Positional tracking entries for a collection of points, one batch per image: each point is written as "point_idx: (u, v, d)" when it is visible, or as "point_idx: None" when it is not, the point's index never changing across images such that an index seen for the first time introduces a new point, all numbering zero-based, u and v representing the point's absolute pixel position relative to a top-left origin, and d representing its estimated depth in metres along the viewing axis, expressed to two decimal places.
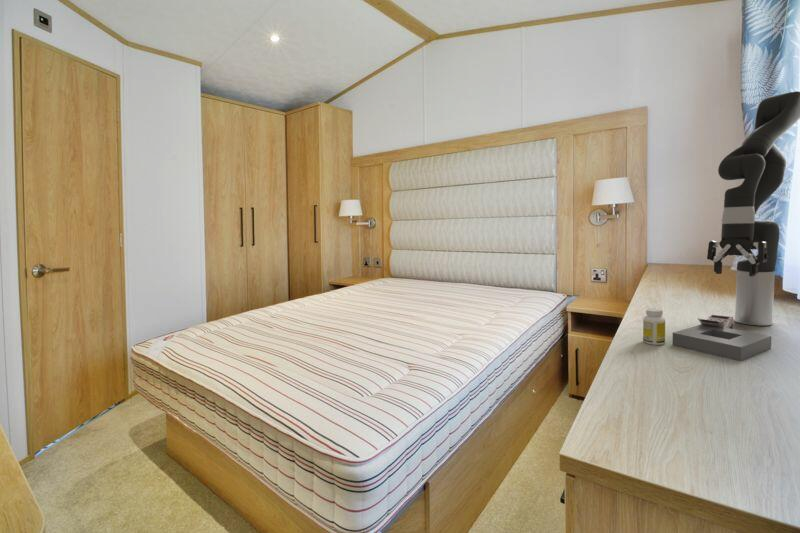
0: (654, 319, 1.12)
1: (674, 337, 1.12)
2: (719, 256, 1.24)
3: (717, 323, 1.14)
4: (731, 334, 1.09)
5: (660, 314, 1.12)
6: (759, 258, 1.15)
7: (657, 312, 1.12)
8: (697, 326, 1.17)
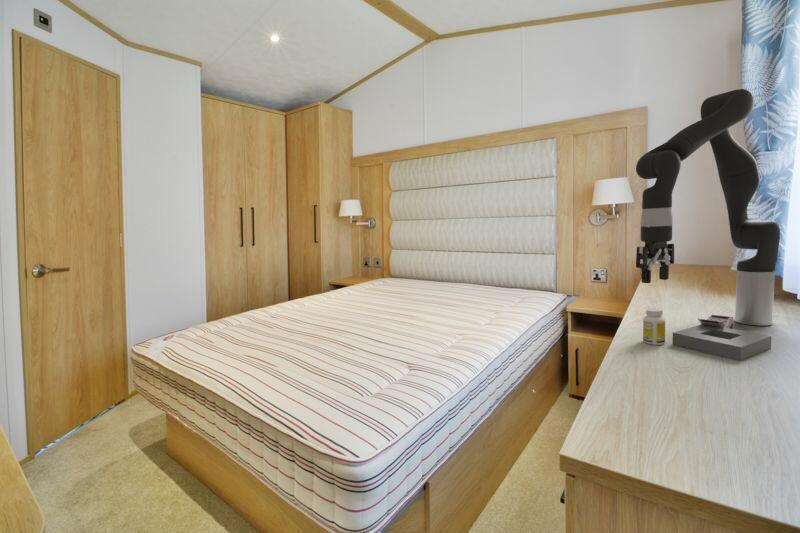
0: (654, 319, 1.12)
1: (674, 337, 1.12)
2: (652, 263, 1.10)
3: (717, 323, 1.14)
4: (731, 334, 1.09)
5: (660, 314, 1.12)
6: (672, 260, 1.14)
7: (657, 312, 1.12)
8: (697, 326, 1.17)
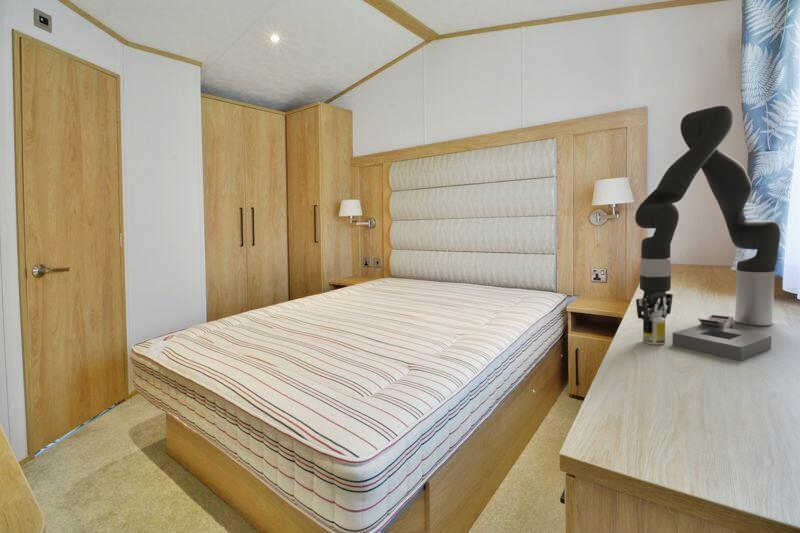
0: (654, 319, 1.12)
1: (674, 337, 1.12)
2: (653, 313, 1.12)
3: (717, 323, 1.14)
4: (731, 334, 1.09)
5: (660, 314, 1.12)
6: (668, 310, 1.15)
7: (657, 312, 1.12)
8: (697, 326, 1.17)
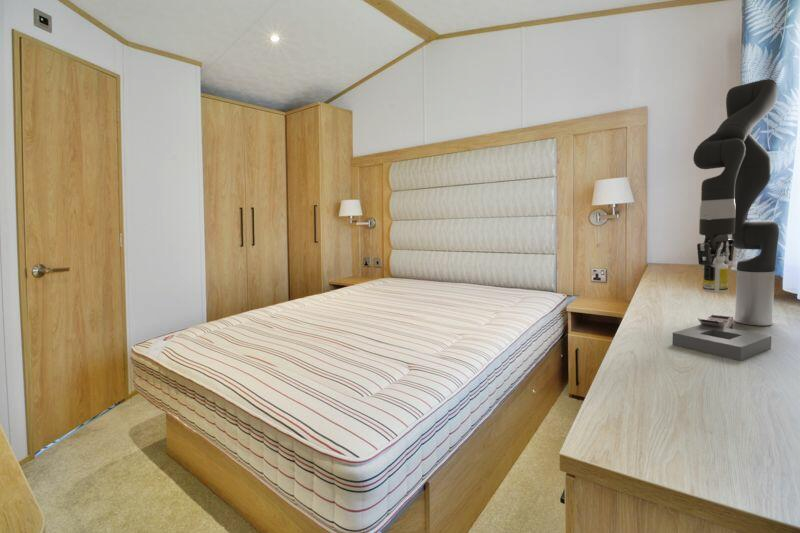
0: (716, 265, 1.05)
1: (674, 337, 1.12)
2: (716, 259, 1.05)
3: (717, 323, 1.14)
4: (731, 334, 1.09)
5: (723, 260, 1.05)
6: (730, 257, 1.08)
7: (720, 257, 1.05)
8: (697, 326, 1.17)
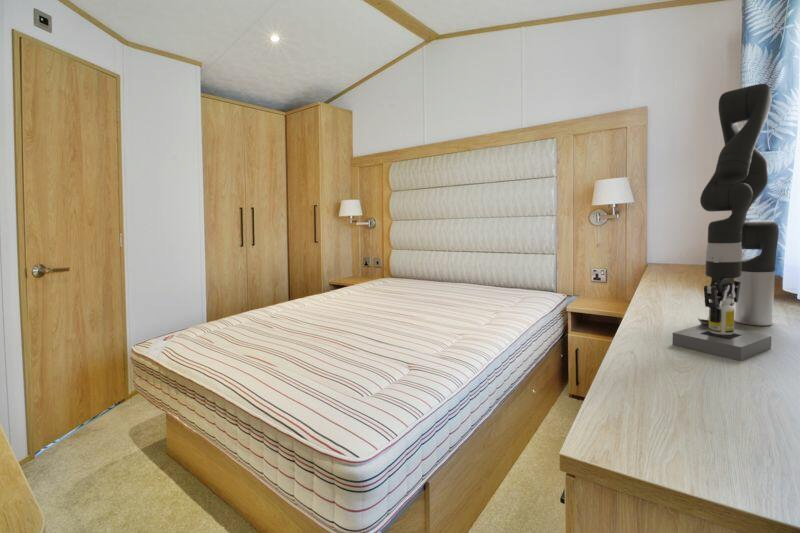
0: (722, 308, 1.06)
1: (674, 337, 1.12)
2: (722, 301, 1.05)
3: None
4: (731, 334, 1.09)
5: (729, 302, 1.06)
6: (736, 298, 1.09)
7: (726, 300, 1.06)
8: (697, 326, 1.17)
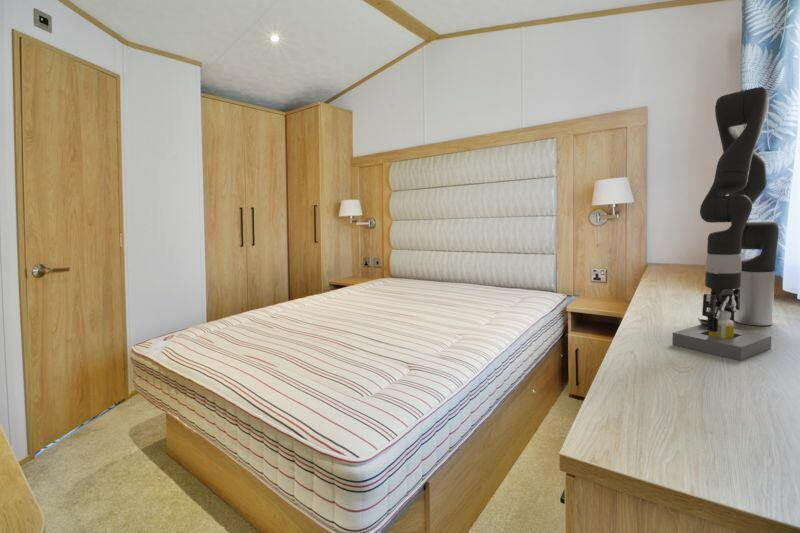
0: (722, 322, 1.06)
1: (674, 337, 1.12)
2: (720, 311, 1.05)
3: None
4: None
5: (729, 316, 1.06)
6: (738, 306, 1.09)
7: (726, 314, 1.06)
8: (697, 326, 1.17)
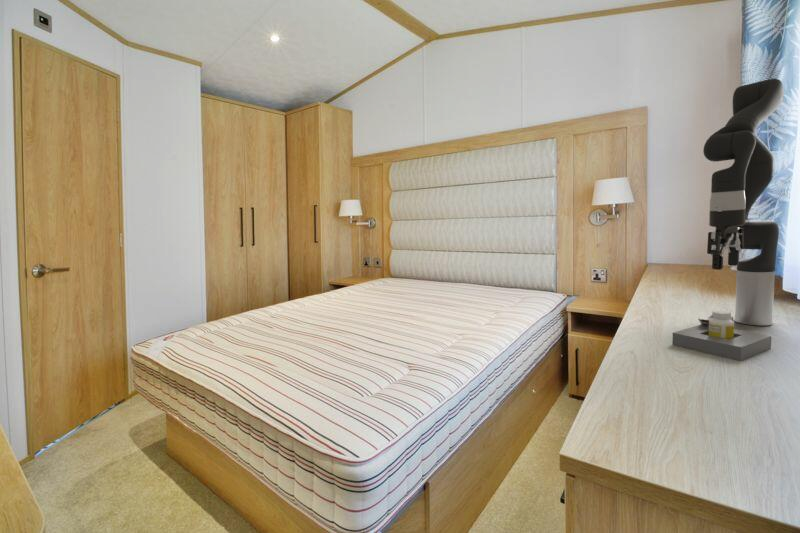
0: (722, 322, 1.06)
1: (674, 337, 1.12)
2: (724, 248, 1.06)
3: None
4: None
5: (729, 316, 1.06)
6: (742, 245, 1.10)
7: (726, 314, 1.06)
8: (697, 326, 1.17)
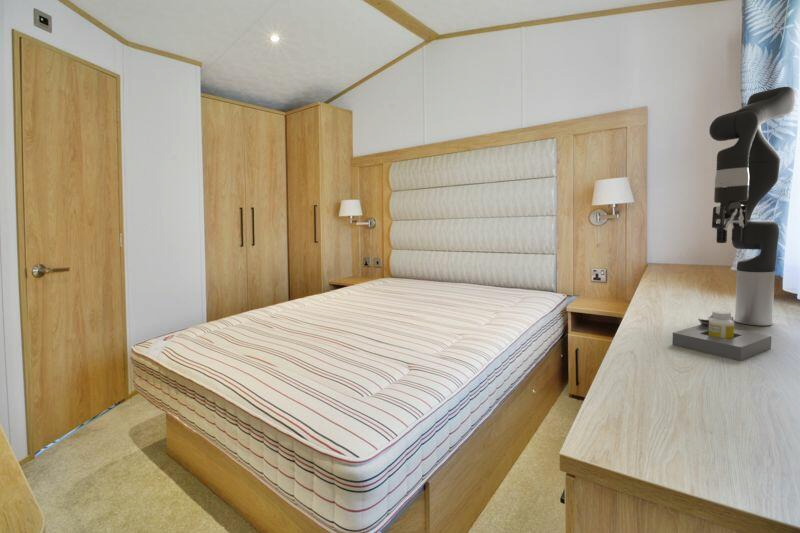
0: (722, 322, 1.06)
1: (674, 337, 1.12)
2: (728, 223, 1.11)
3: None
4: None
5: (729, 316, 1.06)
6: (745, 221, 1.16)
7: (726, 314, 1.06)
8: (697, 326, 1.17)
